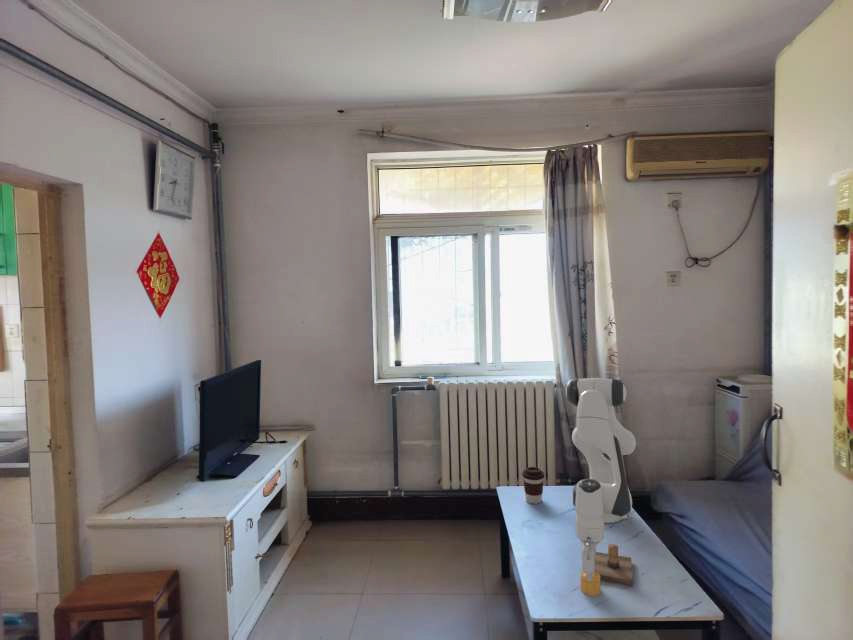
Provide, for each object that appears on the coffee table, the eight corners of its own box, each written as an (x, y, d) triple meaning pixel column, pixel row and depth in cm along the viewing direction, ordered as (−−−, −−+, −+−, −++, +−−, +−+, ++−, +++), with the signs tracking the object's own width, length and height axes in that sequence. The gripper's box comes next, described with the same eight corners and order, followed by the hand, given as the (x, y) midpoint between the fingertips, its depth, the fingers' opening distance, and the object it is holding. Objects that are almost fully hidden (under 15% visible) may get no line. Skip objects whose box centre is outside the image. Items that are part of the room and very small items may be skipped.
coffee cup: (540, 507, 216) (539, 475, 215) (519, 502, 221) (519, 471, 220) (547, 498, 224) (547, 467, 223) (527, 494, 230) (526, 464, 228)
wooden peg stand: (595, 557, 176) (595, 533, 175) (631, 562, 172) (631, 538, 171) (594, 579, 163) (594, 554, 162) (632, 586, 159) (632, 560, 158)
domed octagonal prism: (581, 581, 162) (581, 567, 161) (600, 585, 160) (600, 571, 159) (580, 593, 156) (579, 578, 156) (600, 597, 154) (600, 582, 153)
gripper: (598, 548, 145) (599, 592, 146) (600, 518, 164) (600, 556, 165) (577, 545, 148) (577, 588, 149) (581, 515, 167) (581, 553, 168)
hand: (589, 571), depth 157 cm, fingers open, 8 cm apart
